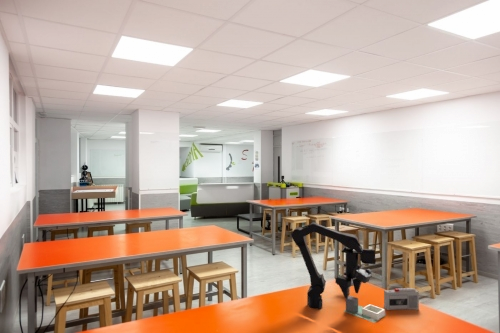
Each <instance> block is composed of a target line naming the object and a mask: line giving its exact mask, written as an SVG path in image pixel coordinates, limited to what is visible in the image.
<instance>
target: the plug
mask: <svg viewBox="0 0 500 333" xmlns="http://www.w3.org/2000/svg"><path fill="white" fill-rule="evenodd" d="M358 305H359V298H358V297H355V296H352V295H348V299H346V298H345V310H346V311H347V312H350V313H353V314H354V313H356V312H358ZM347 312H346V313H347ZM350 313H349V314H350Z"/></svg>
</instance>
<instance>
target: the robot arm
mask: <svg viewBox="0 0 500 333" xmlns="http://www.w3.org/2000/svg"><path fill="white" fill-rule="evenodd" d="M312 233H316V234H319V235H321V236H324V237H327V238H329V239H332V240H335V241H337V242H339V243H340V244H342V245H343V246H344V247H343V248H342V249H341V253H342V254H343V253H344V254H345V263H343V267H345V269H344V270H345V272H343V276H339V275H338V276H337V277H336V278H335V280H334V281H335V284H337V286H338V287H339V288H340V290H341V292H342V294H343V296H344V299H345V300H346V299H348V297H349V295H348V292H349V293H350V288H351V287H353V288H354V291H355V292H354V293H355V294H359V292H360V288H361V286H362V284H366V283H368V282H370V280H371V278H372V277H373V276H372V270H371V269H370V268H368V269H362V268H361V264H359V261H360V262H361V263H362V264H363V265H364V264H365V265H375V266H376V263H377V262H376V259H377V258H376V249H375V248H363V246H362V245H361V243H360V242H359V238H358V236H357V235H355V234H352V233H348V232H341V231H337V230H335V229H333V228H330V227H328V226H327V227H326V226H324V225H321V224H318V223H317V222H311V223H309V224H307V225H306V224H305V226H302V227H301V226H298V227H295V228H294V229H293V230H292V232H291V234H290V236H291V238H292V240H293V241H294V244H295V245H296V246H297V247H298V248H299V251H300V254H301V256H302V258H303V261H304V264H305V267H306V270H307V272H308V275H309V278H310V279H309V280H310V286H309V288H308V290H307V294H306V295H307V297H306V299H307V301H306V302H307V306H308V307H309V308H311V309H313V310H314V309H316V310H321V309H323V297H322V294H323V293H324V291H325V288H326V282H327V281H326V279H325V278H324V273H322V274H321V273H319V272H318V269H317V267H316V264H315V262H314V258H313V256H312V254H311V251H310V249H309V245H308V242H307V236H308V235H310V234H312ZM345 276H346V277H345ZM351 280H353V284H354V286H352V285H351V283H352V281H351Z"/></svg>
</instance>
